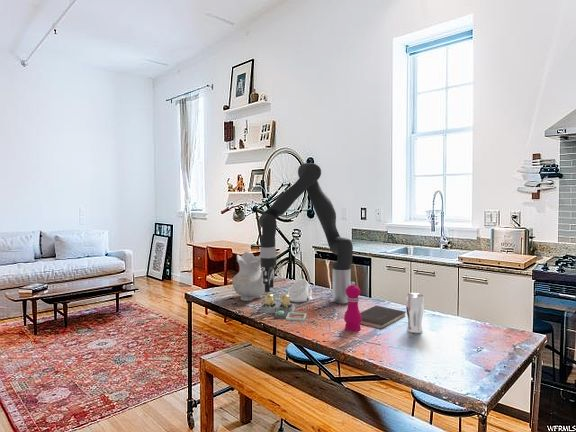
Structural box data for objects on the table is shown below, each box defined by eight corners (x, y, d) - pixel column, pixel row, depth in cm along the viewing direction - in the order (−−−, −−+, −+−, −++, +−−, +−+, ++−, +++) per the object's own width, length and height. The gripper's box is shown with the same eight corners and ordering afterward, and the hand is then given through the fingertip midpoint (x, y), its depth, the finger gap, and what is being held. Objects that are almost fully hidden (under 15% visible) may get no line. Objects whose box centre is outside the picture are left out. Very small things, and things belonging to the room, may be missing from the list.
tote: (306, 317, 183) (306, 313, 183) (304, 323, 175) (304, 318, 175) (288, 316, 185) (288, 312, 184) (285, 322, 176) (285, 318, 176)
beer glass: (414, 335, 160) (415, 298, 159) (402, 329, 166) (402, 294, 165) (427, 332, 163) (428, 295, 162) (414, 327, 169) (415, 292, 168)
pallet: (295, 309, 195) (295, 303, 195) (292, 316, 185) (292, 309, 185) (263, 308, 198) (263, 301, 197) (258, 314, 188) (258, 307, 188)
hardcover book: (406, 316, 185) (406, 311, 185) (381, 330, 168) (381, 324, 168) (374, 309, 196) (374, 305, 195) (349, 322, 178) (349, 316, 178)
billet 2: (290, 308, 192) (290, 294, 192) (289, 311, 188) (289, 296, 188) (282, 308, 193) (282, 294, 192) (280, 311, 189) (280, 296, 189)
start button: (284, 315, 182) (284, 310, 182) (283, 317, 179) (283, 312, 179) (278, 314, 183) (278, 310, 182) (277, 317, 180) (276, 312, 180)
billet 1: (274, 308, 194) (274, 293, 193) (272, 310, 190) (272, 296, 189) (266, 307, 194) (266, 293, 194) (264, 310, 190) (264, 295, 190)
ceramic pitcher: (279, 299, 217) (280, 253, 217) (257, 305, 200) (258, 255, 200) (247, 294, 228) (248, 250, 228) (224, 299, 212) (225, 252, 212)
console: (287, 317, 183) (287, 312, 183) (285, 321, 178) (285, 315, 178) (276, 317, 184) (276, 311, 184) (274, 320, 179) (274, 315, 179)
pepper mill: (363, 327, 170) (363, 280, 168) (359, 333, 163) (359, 284, 162) (347, 325, 173) (347, 279, 171) (341, 330, 166) (342, 282, 165)
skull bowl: (320, 296, 213) (312, 279, 207) (305, 315, 205) (297, 298, 199) (305, 292, 220) (297, 276, 214) (290, 311, 212) (281, 294, 206)
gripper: (273, 259, 183) (274, 294, 184) (279, 253, 197) (279, 286, 198) (257, 258, 184) (258, 293, 185) (264, 253, 198) (265, 285, 199)
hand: (269, 289), depth 192 cm, fingers open, 8 cm apart
